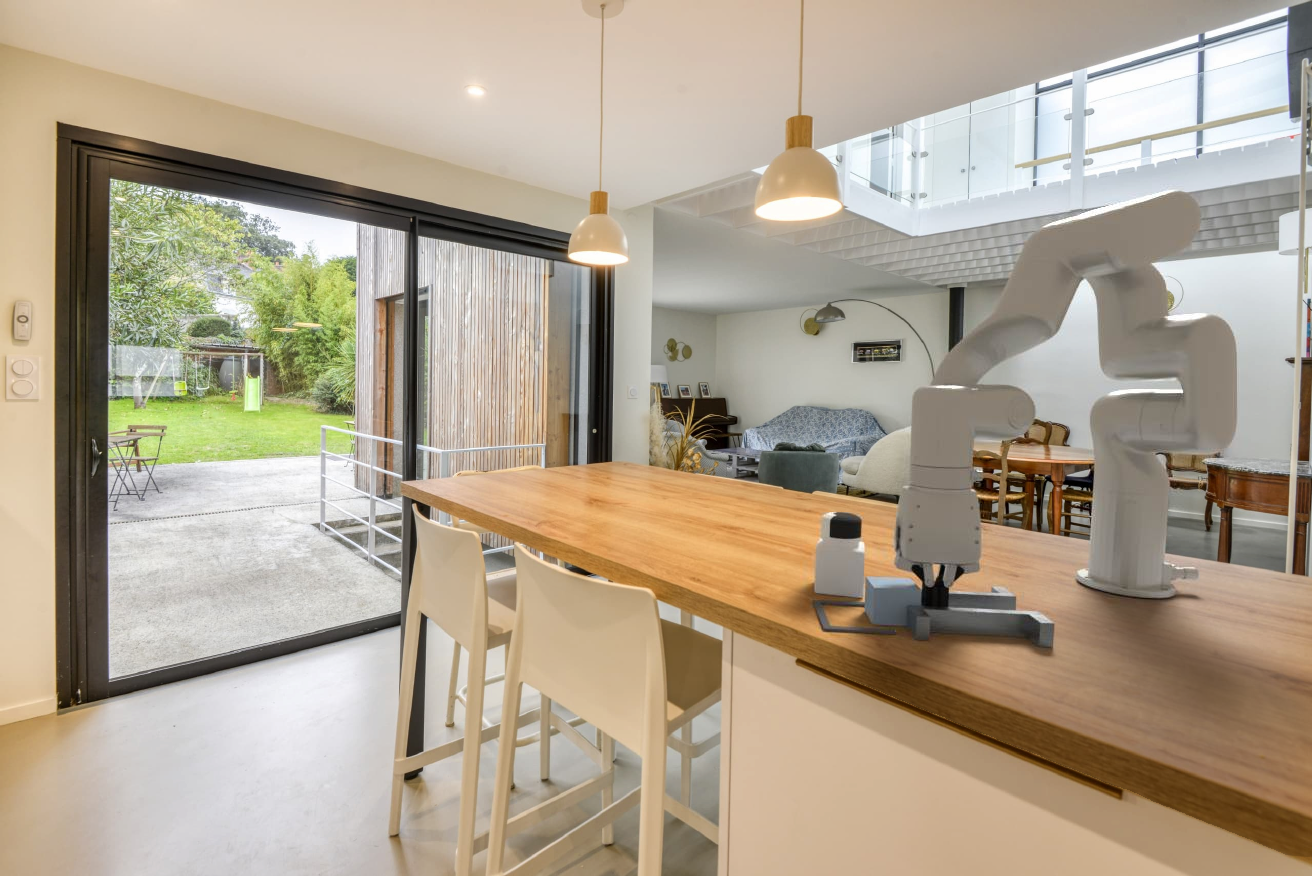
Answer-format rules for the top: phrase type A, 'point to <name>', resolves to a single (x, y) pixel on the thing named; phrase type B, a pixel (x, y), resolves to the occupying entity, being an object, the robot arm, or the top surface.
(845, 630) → the bay
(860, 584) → the medicine bottle
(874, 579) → the block
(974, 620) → the grey stepped fixture
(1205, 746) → the top surface
